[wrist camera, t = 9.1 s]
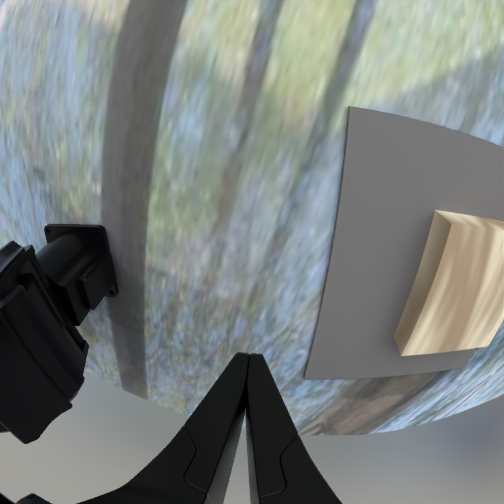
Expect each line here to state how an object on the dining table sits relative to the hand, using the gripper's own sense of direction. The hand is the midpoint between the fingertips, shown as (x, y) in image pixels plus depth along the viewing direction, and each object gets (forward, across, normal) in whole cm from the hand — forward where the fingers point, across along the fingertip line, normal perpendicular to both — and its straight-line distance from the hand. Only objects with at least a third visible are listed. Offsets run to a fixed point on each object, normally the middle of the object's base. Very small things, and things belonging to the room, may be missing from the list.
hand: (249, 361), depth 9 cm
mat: (+12, -15, +4) cm, 20 cm away
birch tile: (+10, -12, +4) cm, 17 cm away
